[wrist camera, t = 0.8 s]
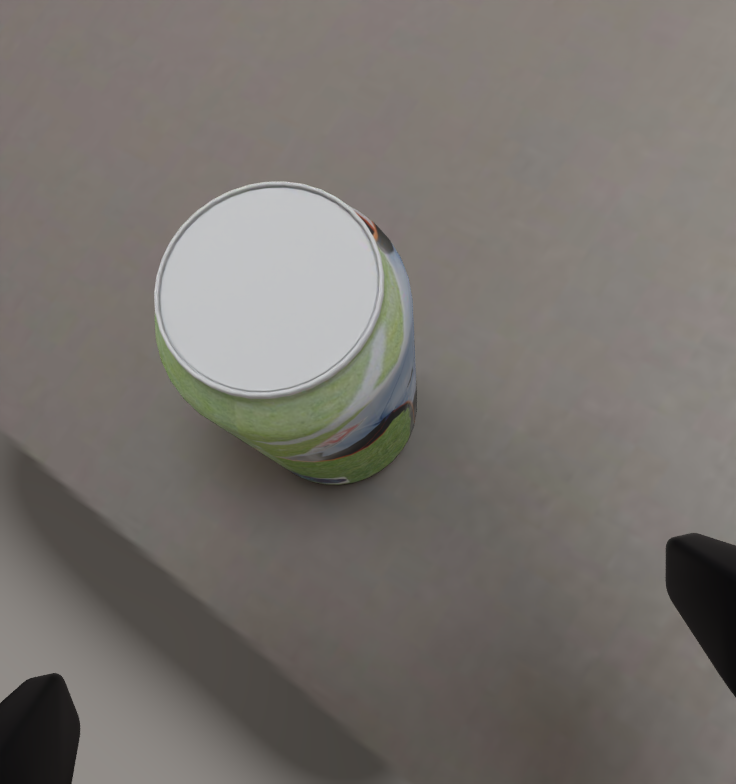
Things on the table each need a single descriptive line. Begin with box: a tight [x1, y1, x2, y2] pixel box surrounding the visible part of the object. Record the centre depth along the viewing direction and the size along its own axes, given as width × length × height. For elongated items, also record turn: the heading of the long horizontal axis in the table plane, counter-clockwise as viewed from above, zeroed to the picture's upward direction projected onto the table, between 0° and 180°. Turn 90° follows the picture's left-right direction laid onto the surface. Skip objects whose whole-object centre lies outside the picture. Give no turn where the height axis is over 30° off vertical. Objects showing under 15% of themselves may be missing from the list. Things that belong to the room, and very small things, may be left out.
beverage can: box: [154, 182, 417, 485], centre depth 18 cm, size 6×7×12 cm
